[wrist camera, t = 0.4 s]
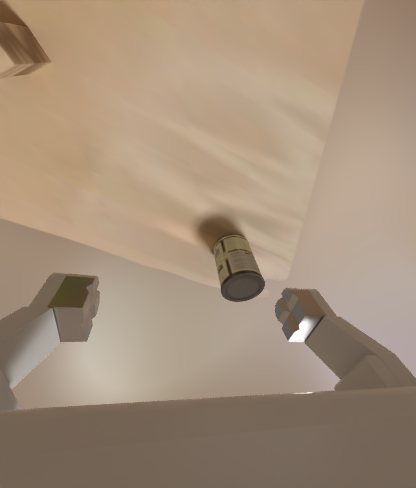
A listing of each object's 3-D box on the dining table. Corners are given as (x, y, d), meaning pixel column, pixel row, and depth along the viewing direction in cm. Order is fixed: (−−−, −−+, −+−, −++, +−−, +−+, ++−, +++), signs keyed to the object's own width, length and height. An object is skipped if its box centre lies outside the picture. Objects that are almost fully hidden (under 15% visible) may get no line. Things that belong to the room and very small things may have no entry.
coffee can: (248, 258, 65) (263, 298, 55) (214, 263, 65) (222, 304, 54) (250, 231, 59) (266, 270, 48) (211, 237, 58) (219, 277, 48)
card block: (51, 62, 33) (14, 64, 25) (29, 74, 33) (-14, 80, 26) (27, 26, 30) (-21, 17, 23) (4, 40, 31) (-51, 35, 23)
